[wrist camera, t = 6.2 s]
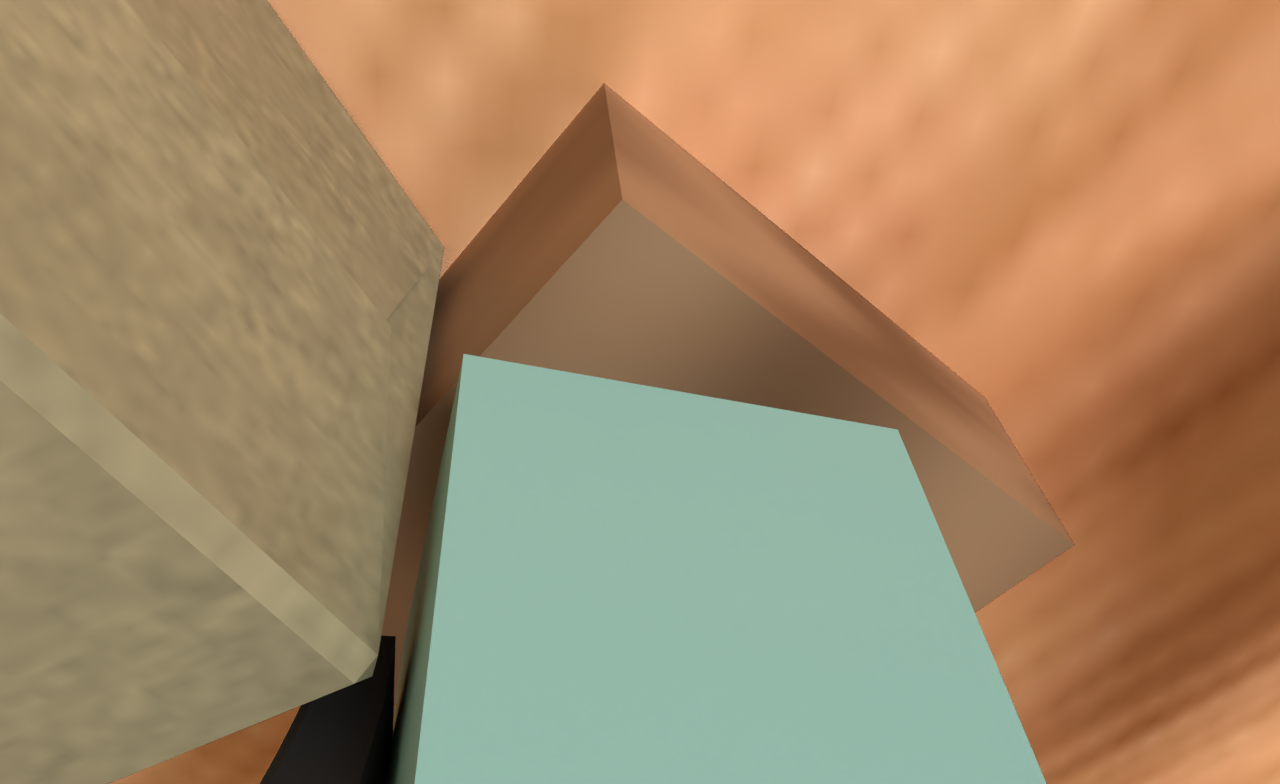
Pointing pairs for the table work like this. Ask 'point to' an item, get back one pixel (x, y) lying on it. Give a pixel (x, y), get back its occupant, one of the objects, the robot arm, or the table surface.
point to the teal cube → (686, 601)
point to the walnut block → (705, 336)
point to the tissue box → (191, 381)
